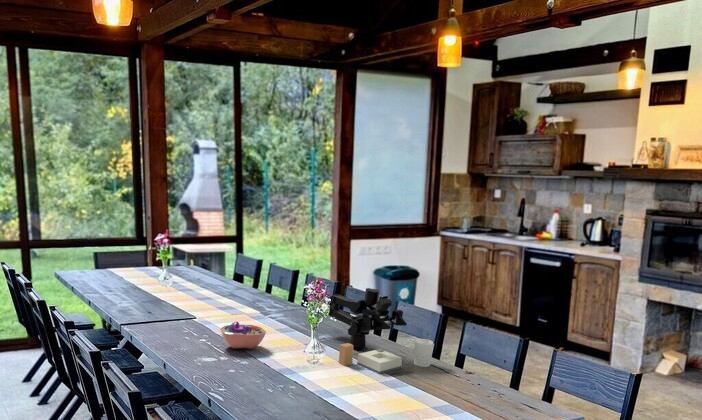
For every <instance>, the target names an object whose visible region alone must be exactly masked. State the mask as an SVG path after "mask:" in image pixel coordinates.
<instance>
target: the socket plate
mask: <svg viewBox="0 0 702 420" xmlns="http://www.w3.org/2000/svg"><path fill="white" fill-rule="evenodd" d="M402 364H403V357H402V356H399V355H396V354H393V353H391V352H388V351H386V350H384V349H382V348H378V349H377V348H376V349H373V350H369V351H366V352H361V353H360V352H359V353H358V354H357V366H360V367H362V368H364V369H366V368H367V369H366V370H369V371H371V372H374V373H376V374H378V375H381V374H385V373H388V372H393V371H396V370H399V369H402V366H403V365H402Z"/></svg>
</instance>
